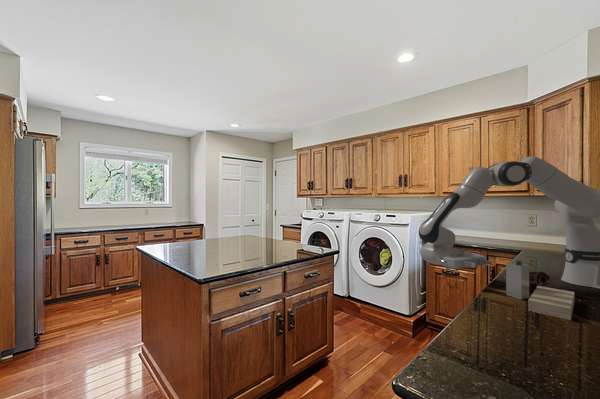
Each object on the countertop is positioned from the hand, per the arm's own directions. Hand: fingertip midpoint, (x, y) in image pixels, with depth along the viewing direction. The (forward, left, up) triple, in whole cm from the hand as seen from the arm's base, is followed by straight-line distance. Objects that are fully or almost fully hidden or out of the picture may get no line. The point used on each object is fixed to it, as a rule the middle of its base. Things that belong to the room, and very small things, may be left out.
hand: (483, 264), depth 118 cm
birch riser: (-11, +20, -9) cm, 25 cm away
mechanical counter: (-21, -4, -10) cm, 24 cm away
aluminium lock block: (-6, +11, -9) cm, 15 cm away
